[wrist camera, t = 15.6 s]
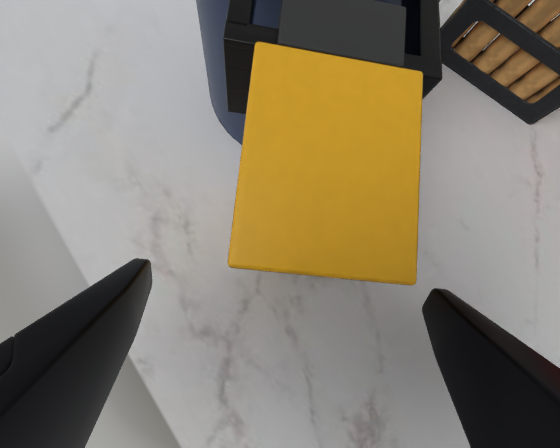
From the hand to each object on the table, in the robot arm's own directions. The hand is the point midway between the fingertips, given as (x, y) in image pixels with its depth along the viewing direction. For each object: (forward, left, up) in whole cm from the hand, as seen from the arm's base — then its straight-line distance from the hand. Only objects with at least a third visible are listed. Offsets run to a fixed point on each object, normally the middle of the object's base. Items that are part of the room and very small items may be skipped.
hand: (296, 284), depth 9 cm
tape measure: (+2, +3, -8) cm, 9 cm away
